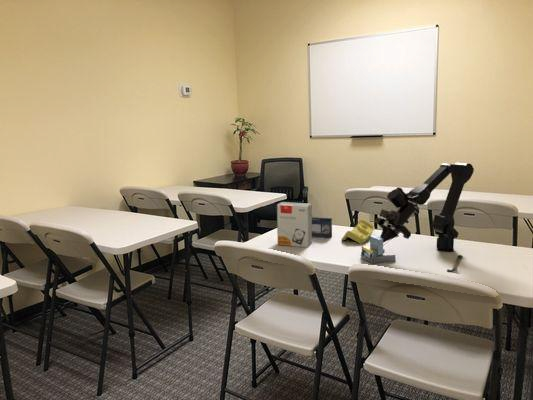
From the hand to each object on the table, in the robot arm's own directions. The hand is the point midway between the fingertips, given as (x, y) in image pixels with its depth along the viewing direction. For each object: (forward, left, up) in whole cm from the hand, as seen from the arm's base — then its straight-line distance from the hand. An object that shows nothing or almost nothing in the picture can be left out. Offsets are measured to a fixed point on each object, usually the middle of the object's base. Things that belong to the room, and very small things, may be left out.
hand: (379, 242), depth 172 cm
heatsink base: (+1, 0, -7) cm, 7 cm away
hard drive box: (+41, -11, -7) cm, 43 cm away
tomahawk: (-31, -2, -8) cm, 32 cm away
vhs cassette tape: (+36, -27, -7) cm, 46 cm away
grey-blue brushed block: (+2, +2, -5) cm, 6 cm away
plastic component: (+13, -30, -8) cm, 34 cm away
